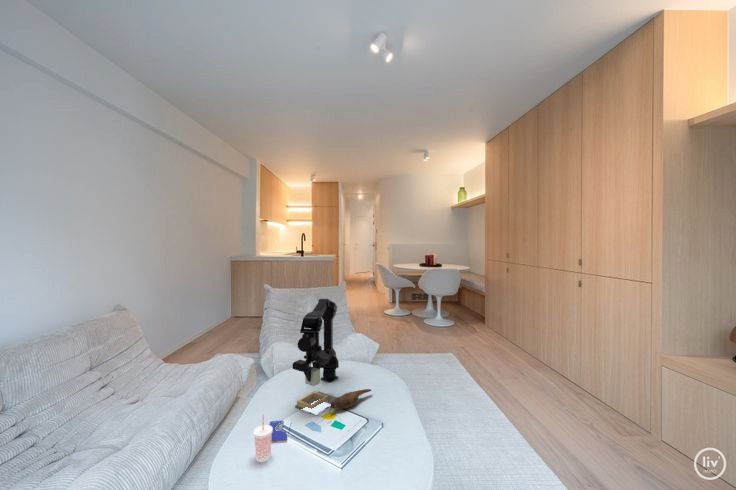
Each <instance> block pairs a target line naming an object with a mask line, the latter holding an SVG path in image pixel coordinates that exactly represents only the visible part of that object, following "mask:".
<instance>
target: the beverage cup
mask: <svg viewBox="0 0 736 490" xmlns="http://www.w3.org/2000/svg"><path fill="white" fill-rule="evenodd" d="M261 417H262V419H261V422H262V425H259V426H257V427H255V428H254V430H253V438H254V448H255V449H254V450H255V451H254V452H255V460H256V461H257V462H259V463H263V462H266V461H268V460H270V458H271V455H272V454H271V453H272V443H271V438H272V432H273V427H272V426H270V425H269V424H265V419H264V418H265V416H264V414H262V416H261Z"/></svg>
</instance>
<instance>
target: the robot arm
mask: <svg viewBox="0 0 736 490" xmlns="http://www.w3.org/2000/svg"><path fill="white" fill-rule="evenodd" d="M337 310H338V305H337V304H336V303H335V301H332V300H330V299H329V298H319V299H318V302H317V304H316V305H315V307H314V308H313V310H312V311H310V312H307V314H305V315H304V317H303V318H302V322H301V327H300V334H302V336H301V337H300V339H298V341H297V348H298V350H299V351H301V352H303V353H305V355H304V356H303V359H305V360H302V359H297V360H295V361H294V362H292V370H295V371H299V372H303V374H304V376H306V378H307V380H308V381H309V382H310V381H311V370H312V369H313V367H315V368H318V369H320V370H321V369H322V377H320V381H324V382H328V383H332V382H333V381H335V380H338V378H339V376H337V375H336V373H337V372H336V370H337V369H338V368H339V360H338V357H337V352H336V350H335V348H334V345H333V344H334V343H333V341H334V338H333V337H334V334H333V331H334V327H333V326H334V325H333V323H334V321H333V320H334V318H335V317H336V315H337ZM322 326H323V347H322V345H320V331H321V329H322Z"/></svg>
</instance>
